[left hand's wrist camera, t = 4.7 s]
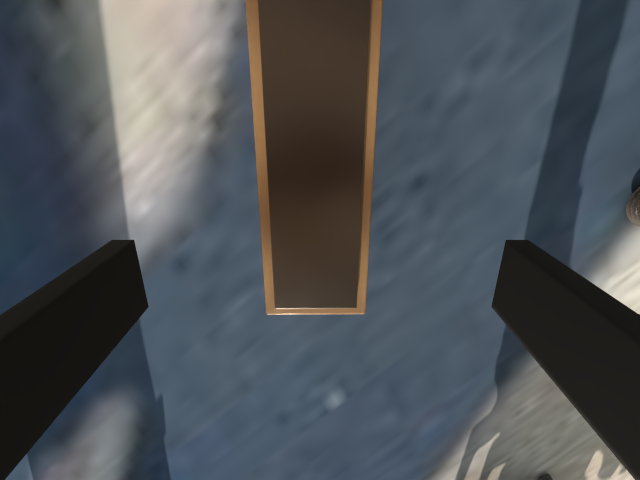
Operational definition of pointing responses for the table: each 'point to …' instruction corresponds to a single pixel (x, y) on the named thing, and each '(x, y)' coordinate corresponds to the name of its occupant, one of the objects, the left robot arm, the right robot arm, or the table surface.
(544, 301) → the left robot arm
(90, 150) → the table surface
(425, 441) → the table surface
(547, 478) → the toy
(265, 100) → the tray
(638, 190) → the light bulb
